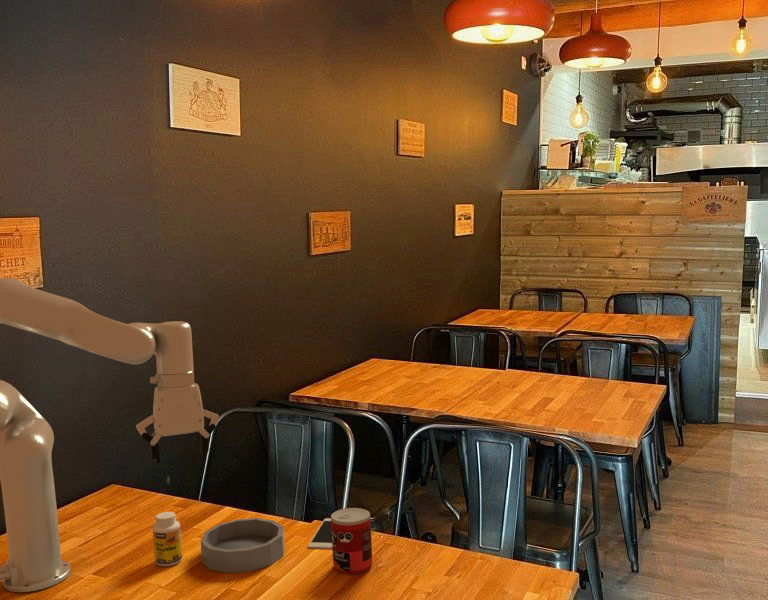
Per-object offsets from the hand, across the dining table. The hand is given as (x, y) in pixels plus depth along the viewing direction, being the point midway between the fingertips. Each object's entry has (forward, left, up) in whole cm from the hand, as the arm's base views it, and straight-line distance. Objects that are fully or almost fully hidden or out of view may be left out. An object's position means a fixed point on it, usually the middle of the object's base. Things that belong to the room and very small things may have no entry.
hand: (180, 458), depth 163 cm
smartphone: (+29, -12, -21) cm, 38 cm away
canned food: (+24, -29, -21) cm, 43 cm away
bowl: (+9, -9, -21) cm, 25 cm away
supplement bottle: (-5, -2, -21) cm, 22 cm away
